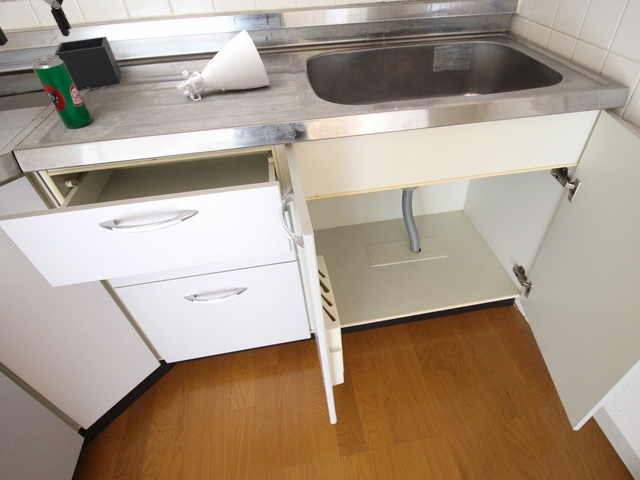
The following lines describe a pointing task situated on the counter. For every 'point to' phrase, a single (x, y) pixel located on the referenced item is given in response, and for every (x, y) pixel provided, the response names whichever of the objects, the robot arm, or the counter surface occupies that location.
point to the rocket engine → (229, 69)
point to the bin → (90, 62)
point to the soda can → (61, 91)
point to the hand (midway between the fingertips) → (36, 39)
